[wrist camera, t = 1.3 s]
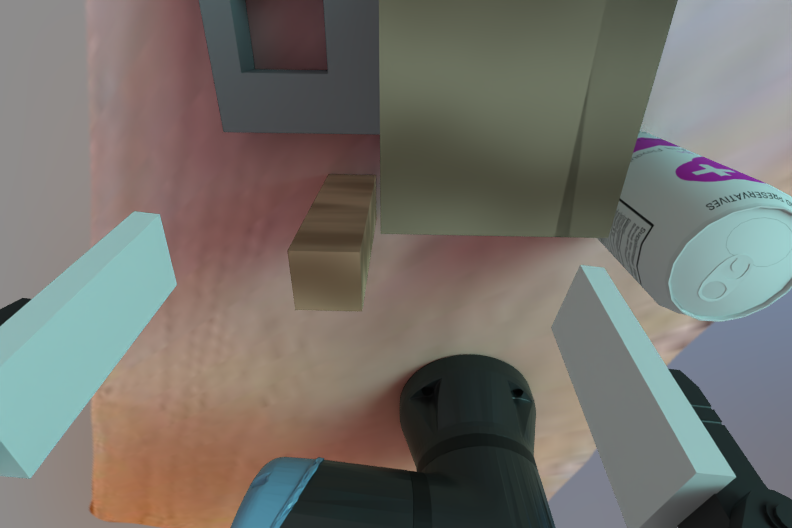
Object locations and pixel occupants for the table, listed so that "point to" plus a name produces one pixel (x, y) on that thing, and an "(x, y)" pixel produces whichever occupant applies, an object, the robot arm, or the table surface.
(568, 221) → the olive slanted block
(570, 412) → the table surface
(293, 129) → the socket
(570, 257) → the table surface
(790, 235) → the supplement can
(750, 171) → the table surface
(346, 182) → the peg
